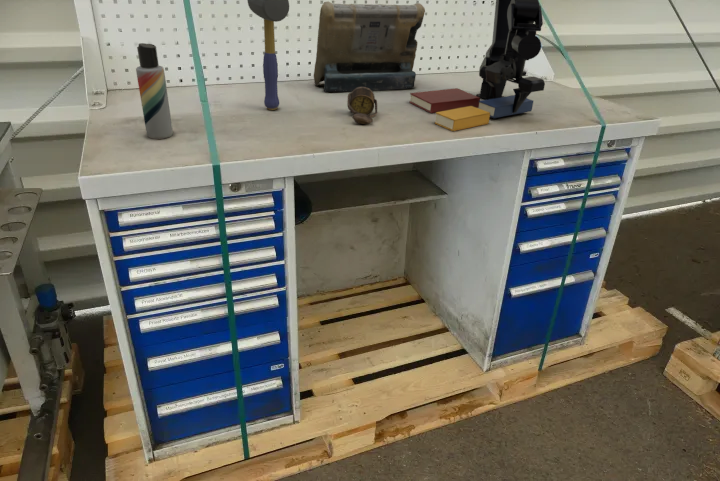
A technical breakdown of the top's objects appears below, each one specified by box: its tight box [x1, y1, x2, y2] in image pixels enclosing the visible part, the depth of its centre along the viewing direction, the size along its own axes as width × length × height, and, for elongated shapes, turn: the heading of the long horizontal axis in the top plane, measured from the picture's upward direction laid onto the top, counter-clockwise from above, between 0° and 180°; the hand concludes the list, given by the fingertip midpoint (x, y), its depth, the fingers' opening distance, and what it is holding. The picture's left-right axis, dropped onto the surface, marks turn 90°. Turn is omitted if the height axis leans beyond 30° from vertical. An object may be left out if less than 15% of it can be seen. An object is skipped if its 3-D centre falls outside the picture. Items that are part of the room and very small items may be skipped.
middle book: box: [478, 94, 534, 119], centre depth 146 cm, size 15×6×3 cm, turn 123°
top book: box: [434, 106, 491, 132], centre depth 138 cm, size 13×7×3 cm, turn 125°
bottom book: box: [409, 87, 481, 114], centre depth 152 cm, size 17×11×3 cm, turn 118°
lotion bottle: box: [135, 42, 174, 140], centre depth 116 cm, size 6×6×20 cm
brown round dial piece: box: [346, 87, 378, 125], centre depth 137 cm, size 7×13×10 cm
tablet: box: [313, 1, 426, 93], centre depth 160 cm, size 33×14×25 cm, turn 114°
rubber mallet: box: [247, 0, 290, 111], centre depth 134 cm, size 12×8×30 cm, turn 28°
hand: (505, 109), depth 147 cm, fingers closed on middle book, 6 cm apart
